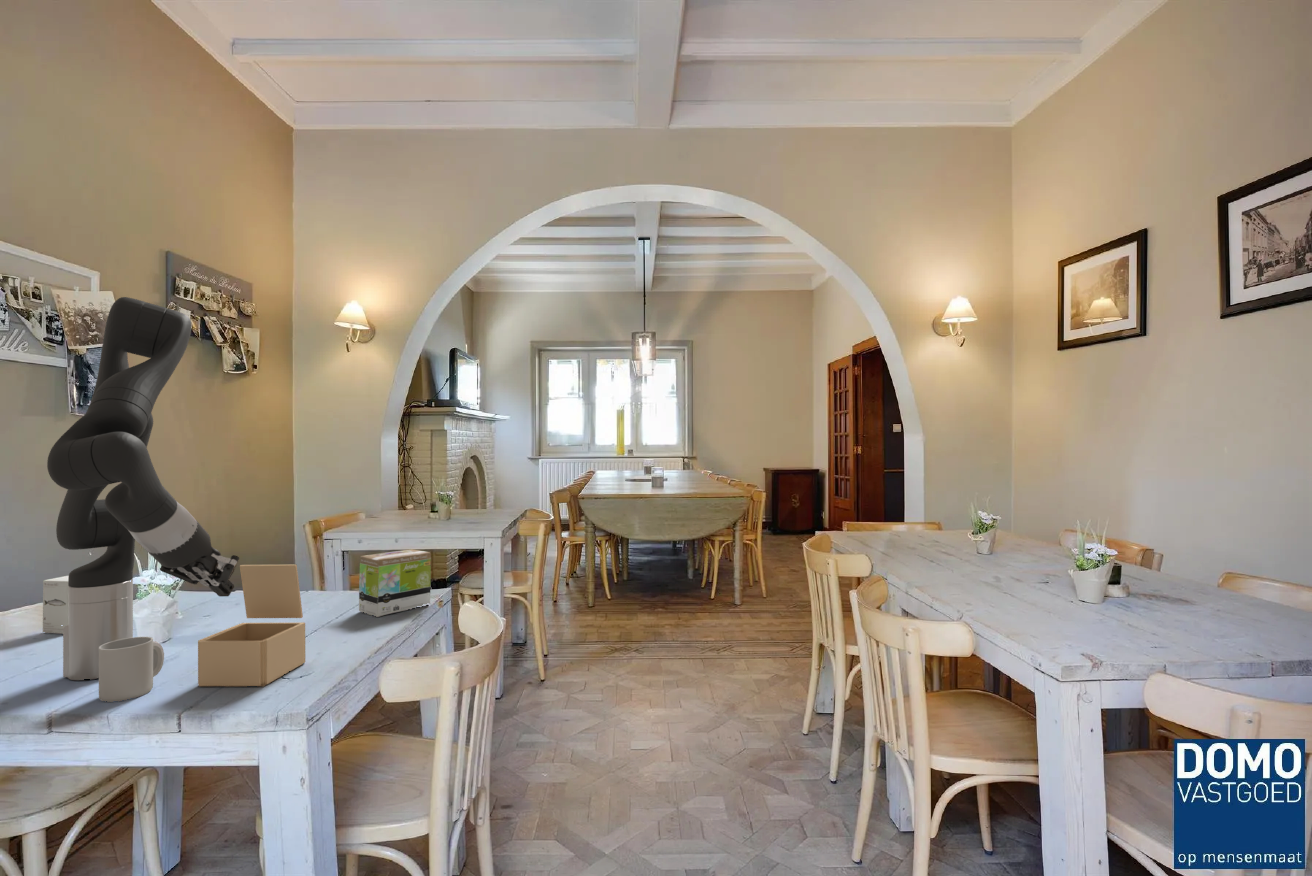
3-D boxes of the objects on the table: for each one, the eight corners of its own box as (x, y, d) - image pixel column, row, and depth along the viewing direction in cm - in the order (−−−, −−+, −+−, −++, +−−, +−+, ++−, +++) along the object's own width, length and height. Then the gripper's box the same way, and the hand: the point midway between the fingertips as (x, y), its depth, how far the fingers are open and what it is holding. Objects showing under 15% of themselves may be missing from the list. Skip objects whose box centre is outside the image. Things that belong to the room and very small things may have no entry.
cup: (87, 701, 104) (87, 648, 104) (146, 679, 113) (146, 631, 114) (121, 704, 102) (121, 650, 102) (178, 681, 112) (178, 632, 112)
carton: (194, 687, 109) (194, 641, 109) (244, 662, 121) (243, 622, 122) (264, 687, 109) (264, 641, 109) (306, 662, 121) (306, 621, 121)
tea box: (378, 618, 153) (377, 559, 153) (358, 612, 159) (357, 555, 159) (431, 605, 165) (431, 550, 165) (411, 600, 171) (411, 547, 171)
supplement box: (41, 633, 144) (41, 580, 144) (75, 624, 151) (75, 573, 151) (66, 635, 142) (67, 580, 143) (100, 625, 150) (100, 574, 150)
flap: (246, 618, 121) (239, 565, 120) (248, 617, 122) (241, 564, 120) (301, 617, 121) (295, 565, 119) (302, 617, 121) (296, 564, 120)
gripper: (222, 513, 99) (273, 573, 111) (144, 514, 100) (202, 574, 112) (196, 551, 94) (253, 610, 106) (113, 552, 94) (179, 611, 106)
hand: (227, 592), depth 109 cm, fingers closed
